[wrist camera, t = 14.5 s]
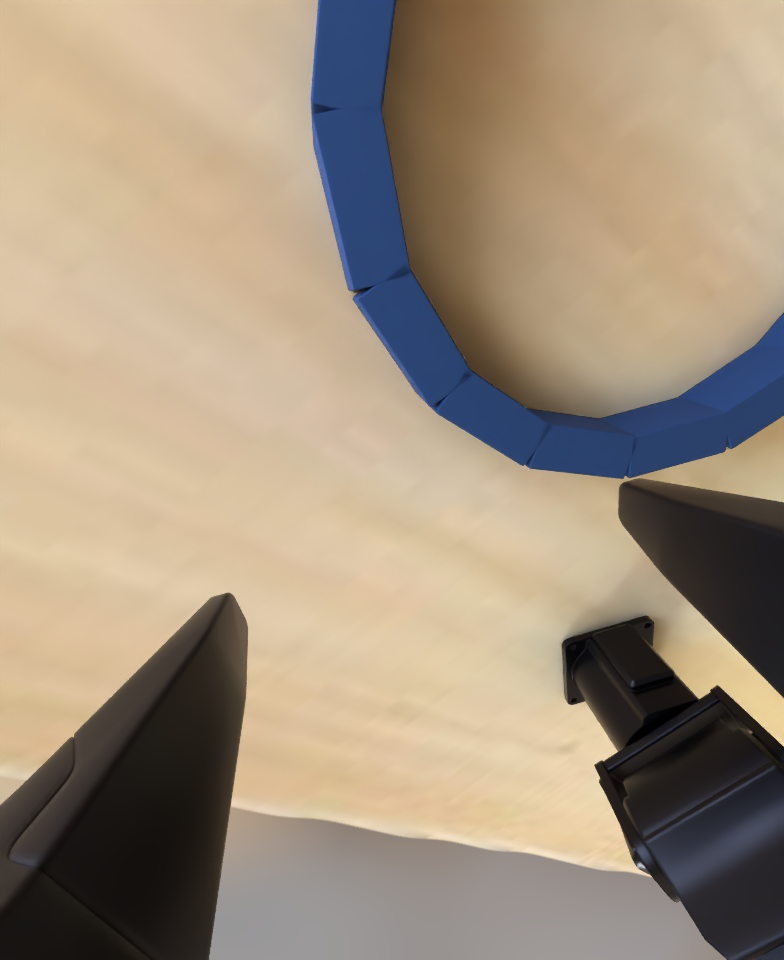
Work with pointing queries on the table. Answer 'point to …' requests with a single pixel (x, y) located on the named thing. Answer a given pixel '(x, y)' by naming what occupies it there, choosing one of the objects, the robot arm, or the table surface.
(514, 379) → the table surface
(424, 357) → the ring
